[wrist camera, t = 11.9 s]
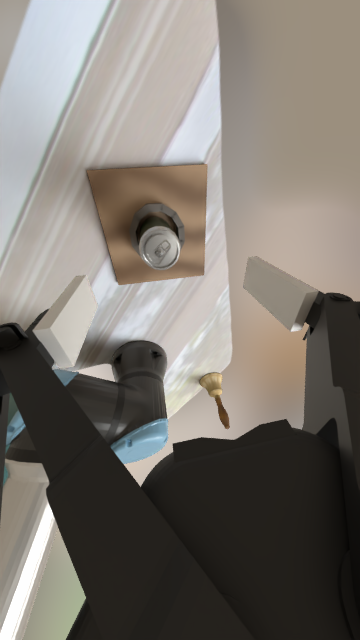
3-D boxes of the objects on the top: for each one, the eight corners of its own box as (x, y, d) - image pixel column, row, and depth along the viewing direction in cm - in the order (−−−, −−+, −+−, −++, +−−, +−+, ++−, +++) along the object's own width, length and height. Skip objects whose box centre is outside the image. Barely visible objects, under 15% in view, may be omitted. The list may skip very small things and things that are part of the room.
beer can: (154, 208, 30) (159, 216, 20) (176, 233, 32) (190, 250, 23) (134, 233, 31) (129, 252, 22) (157, 255, 34) (162, 279, 24)
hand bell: (219, 385, 66) (237, 432, 53) (198, 388, 65) (211, 436, 52) (224, 371, 61) (245, 418, 49) (201, 373, 60) (217, 422, 47)
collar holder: (202, 273, 39) (208, 280, 36) (119, 283, 37) (116, 291, 34) (205, 165, 28) (213, 161, 25) (88, 171, 26) (80, 168, 23)
